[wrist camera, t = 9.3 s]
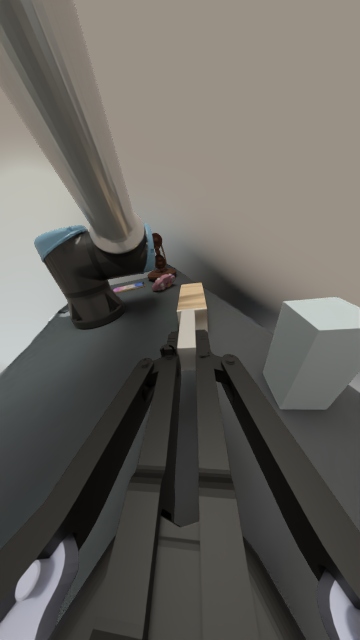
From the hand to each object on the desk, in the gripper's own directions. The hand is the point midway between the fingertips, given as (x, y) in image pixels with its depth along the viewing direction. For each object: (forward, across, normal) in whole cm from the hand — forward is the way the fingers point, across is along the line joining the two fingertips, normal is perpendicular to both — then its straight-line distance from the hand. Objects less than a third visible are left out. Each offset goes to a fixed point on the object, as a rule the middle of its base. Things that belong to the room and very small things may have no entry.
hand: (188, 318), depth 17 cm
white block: (-3, +13, -10) cm, 17 cm away
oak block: (+10, 0, -7) cm, 13 cm away
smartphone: (+48, -30, -11) cm, 57 cm away
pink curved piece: (+42, -12, -10) cm, 44 cm away
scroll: (+58, -16, -10) cm, 61 cm away
